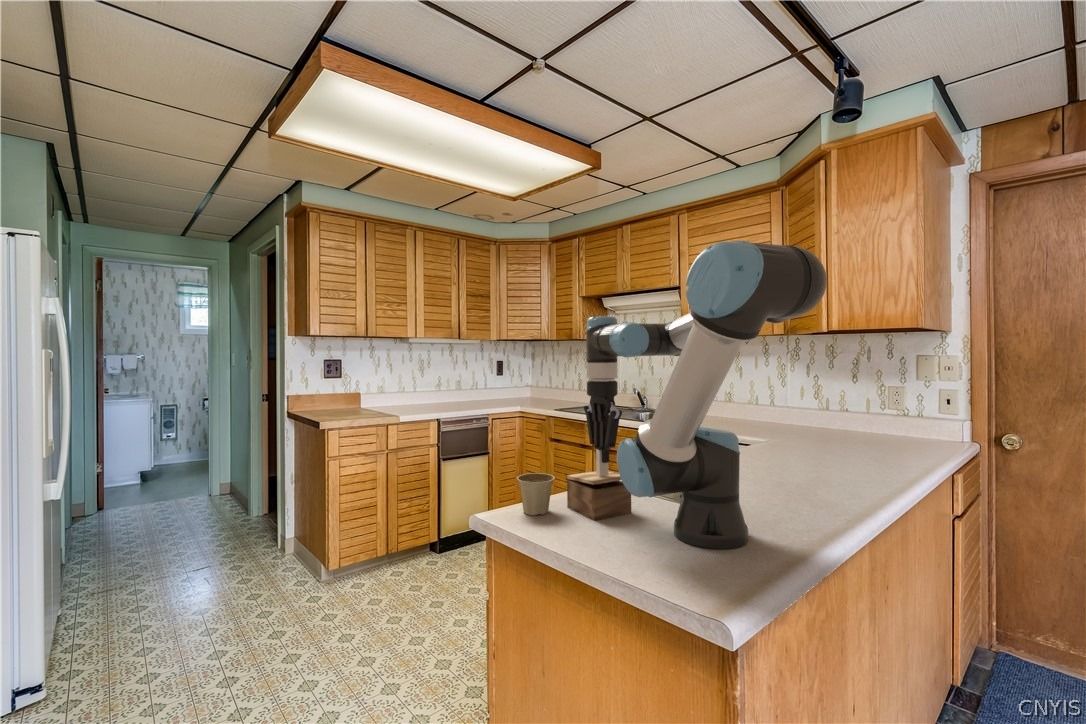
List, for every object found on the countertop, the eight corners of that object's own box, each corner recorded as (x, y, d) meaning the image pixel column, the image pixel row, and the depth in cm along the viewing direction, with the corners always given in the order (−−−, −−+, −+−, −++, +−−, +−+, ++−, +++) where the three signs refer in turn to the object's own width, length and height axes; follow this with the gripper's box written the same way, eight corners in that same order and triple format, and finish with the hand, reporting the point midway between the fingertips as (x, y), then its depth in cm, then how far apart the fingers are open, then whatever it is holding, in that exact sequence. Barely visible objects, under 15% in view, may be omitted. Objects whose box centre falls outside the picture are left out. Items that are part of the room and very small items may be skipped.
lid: (629, 480, 126) (629, 475, 126) (593, 486, 121) (593, 481, 121) (600, 474, 137) (599, 469, 137) (565, 479, 132) (565, 475, 132)
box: (631, 512, 126) (631, 484, 126) (594, 520, 121) (594, 491, 121) (602, 500, 137) (602, 474, 137) (567, 507, 131) (567, 480, 131)
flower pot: (556, 506, 132) (556, 473, 132) (553, 518, 123) (553, 482, 123) (520, 505, 133) (519, 472, 133) (514, 517, 124) (514, 482, 124)
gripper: (630, 380, 123) (631, 478, 123) (599, 377, 134) (599, 467, 135) (605, 382, 119) (605, 483, 120) (574, 378, 130) (575, 471, 131)
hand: (602, 474), depth 127 cm, fingers closed
